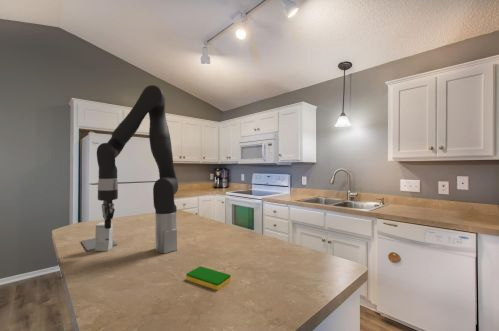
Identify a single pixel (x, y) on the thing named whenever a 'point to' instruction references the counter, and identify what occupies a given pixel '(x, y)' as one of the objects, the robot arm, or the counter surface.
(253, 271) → the counter surface
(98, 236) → the skincare box
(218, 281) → the dish sponge
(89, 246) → the mat
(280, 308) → the counter surface
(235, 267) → the counter surface
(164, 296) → the counter surface
